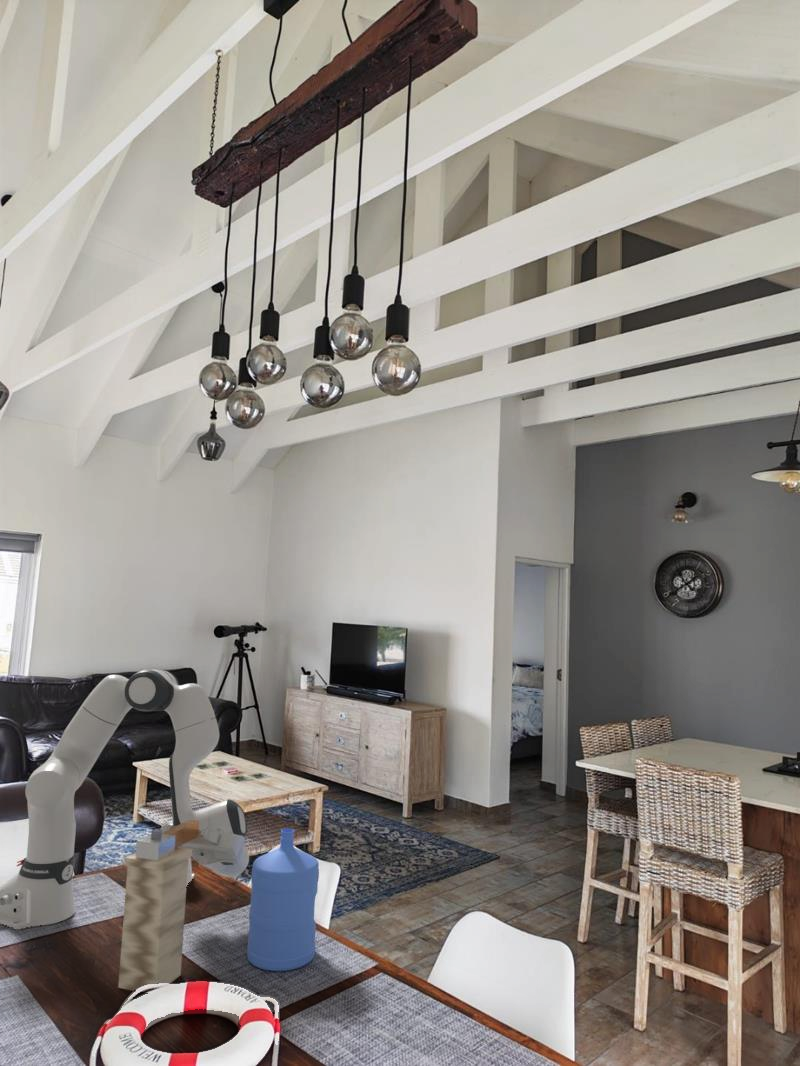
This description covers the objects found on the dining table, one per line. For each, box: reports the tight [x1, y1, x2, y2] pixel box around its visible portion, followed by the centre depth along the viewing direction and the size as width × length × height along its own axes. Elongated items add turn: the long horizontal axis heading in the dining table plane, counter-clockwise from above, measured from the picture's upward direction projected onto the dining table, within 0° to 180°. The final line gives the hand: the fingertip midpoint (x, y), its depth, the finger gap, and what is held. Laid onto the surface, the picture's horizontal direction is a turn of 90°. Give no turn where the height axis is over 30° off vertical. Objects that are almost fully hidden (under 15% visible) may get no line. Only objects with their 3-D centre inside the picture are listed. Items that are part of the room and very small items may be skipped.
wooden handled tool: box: [135, 820, 199, 862], centre depth 159 cm, size 18×6×5 cm, turn 164°
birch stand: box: [117, 847, 193, 992], centre depth 153 cm, size 10×10×26 cm
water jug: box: [246, 828, 320, 972], centre depth 166 cm, size 16×16×28 cm
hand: (185, 830), depth 164 cm, fingers open, 8 cm apart
